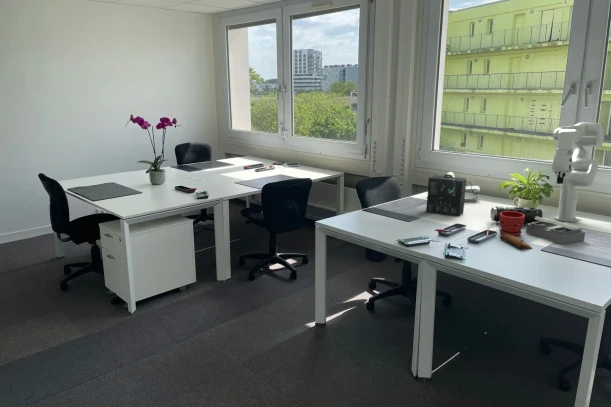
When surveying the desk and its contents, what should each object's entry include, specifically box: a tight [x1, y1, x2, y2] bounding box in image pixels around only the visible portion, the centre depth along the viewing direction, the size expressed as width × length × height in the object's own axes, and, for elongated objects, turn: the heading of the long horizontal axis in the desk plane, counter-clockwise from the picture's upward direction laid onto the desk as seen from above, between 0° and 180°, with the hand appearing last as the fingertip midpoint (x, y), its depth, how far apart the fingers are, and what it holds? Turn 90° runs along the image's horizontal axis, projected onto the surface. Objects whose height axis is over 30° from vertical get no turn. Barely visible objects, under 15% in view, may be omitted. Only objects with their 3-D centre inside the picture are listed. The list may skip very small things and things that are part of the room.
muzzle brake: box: [490, 206, 543, 224], centre depth 279 cm, size 10×28×10 cm, turn 85°
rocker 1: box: [535, 216, 557, 224], centre depth 258 cm, size 12×5×2 cm, turn 112°
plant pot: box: [498, 211, 525, 237], centre depth 257 cm, size 13×13×12 cm
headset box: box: [425, 173, 467, 218], centre depth 302 cm, size 22×12×26 cm, turn 58°
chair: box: [446, 171, 481, 203], centre depth 341 cm, size 13×25×20 cm, turn 67°
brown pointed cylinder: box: [499, 233, 533, 251], centre depth 241 cm, size 18×7×7 cm
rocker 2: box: [555, 221, 577, 230], centre depth 246 cm, size 12×5×2 cm, turn 112°
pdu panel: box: [525, 221, 586, 246], centre depth 255 cm, size 16×28×6 cm, turn 21°
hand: (559, 183), depth 264 cm, fingers closed
